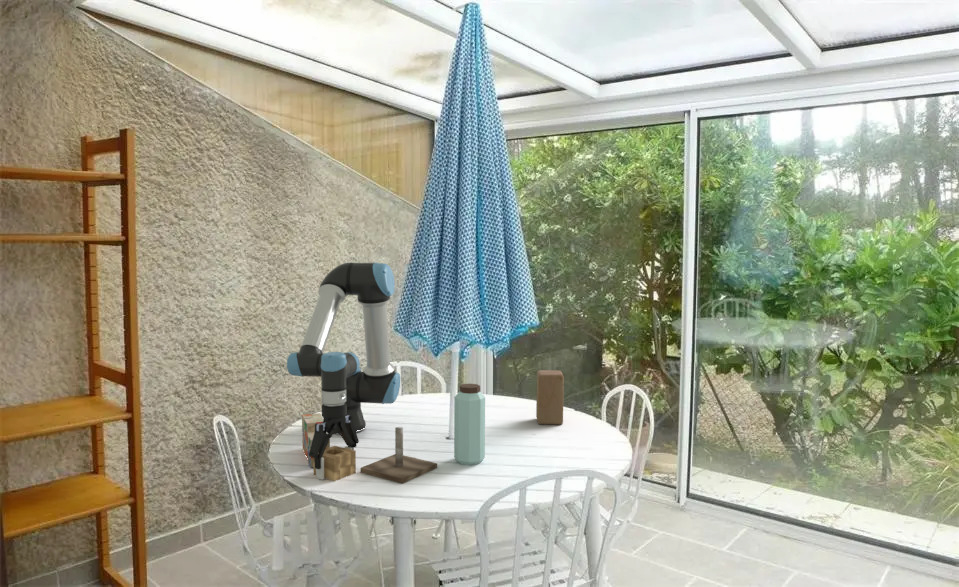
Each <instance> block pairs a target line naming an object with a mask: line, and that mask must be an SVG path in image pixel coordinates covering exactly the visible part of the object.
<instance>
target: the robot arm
mask: <svg viewBox="0 0 959 587" xmlns="http://www.w3.org/2000/svg"><path fill="white" fill-rule="evenodd" d="M394 276H395V275H394V272H393V270H392V267H390V265H388V264H387V263H384V262H383V263H379V262H344V263H342V264H339V265H337V266H336V267H334V268H333V269H332V270H330V271H329V272H328V273H327V274H326V276H325V277H324V278H323V280H322V281H321V282H320V285H319V287H318V289H317V290H318V291H317V292H318V300H317V302H316V305H315V307H314V310H313V313H312V315H311V318H310V321H309V323H308V327H307V329H306V332H305V335H304V338H303V341H302V343H301V346H300V348H299V350H298V352H297V351H295V352H291V353H290V354H288V356H287V360H286V369H287V371H288V373H289V375H290V376H295V377H315V378H316V377H318V378H320V380H321V386H320V388H321V390H320V391H321V392H320V393H321V394H320V395H321V400H320V402H321V403H322V405H321V416H322V418H323V423H322V424H315V433H314V436H313V440H312V444H311V448H310V452H309V457H313V458H314V461H315V468H316V476H315V479H319V480H323V481H324V480H325V478H324V458H323V457H322V455H323V453H324V451H325V449H326V446H327V444H328V442H329V439H330V440H331V438H333V435H337V434H336V433H339V434H338V435H340V437H341V438H342V441H344V443H345V445H346V446H344V448H346V449H351V450H355V449H354V448H357V444H358V443H359V442H360V440H359V437H358V434H357V433H356V431H357V430H361V429H363V428H365V426H366V420H365V419H364V415H363V412H362V407H361V406H362V405H361V404H382V405H384V404H390V405H391V404H394V403H395V402H396V400H397V398H398V397H399V396H398V395H399V392H400V389H401V374H400V372H397V371H396V368H395V366H394V365H393V364H392V363H391V356H390V355H391V354H390V342H389V341H390V340H389V338H390V337H389V325H388V310H387V303H388V302H389V301H390V300H391V296H393V295H394V293H395V288H396V287H395V285H396V284H395V277H394ZM350 295H351V296H356V297H357V302H358V303H360V304H361V306H362V316H363V317H362V318H363V330H364V331H363V332H364V342H365V344H364V345H365V355H366V356H365V357H366V366H364V368H363V371H362V369H361V366H360V365H361V362H360V359H359V357H358V356H357V354H355V353H353V352H350V351H348V352H346V351H345V352H342V351H341V352H340V351H329V352H324V351H325V348H326V345H327V342H328V340H329V336H330V334H331V330H332V328H333V325H334V322H335V319H336V317H337V314H338V311H339V307H340V305H341V303H343V302H344V301H345V300H346V297H347V296H350ZM365 429H366V428H365ZM326 432H327V433H326ZM318 453H319V454H318Z"/></svg>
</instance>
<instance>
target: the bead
mask: <svg viewBox="0 0 959 587" xmlns="http://www.w3.org/2000/svg"><path fill="white" fill-rule="evenodd" d="M318 454H319V453H318ZM322 457H323V458H324V479H325V478H327V479H326V480H328V479H329V480H328V481H332V482H337V481H339V480H341V478H342V479H344V478H346V476H347V477H350V476H351V474H352V475H353V474H356V473H357V472H356V471H357V465H356V464H357V462H356V461H357V460H356V458H357V454H356V450H355V449H354V450H351V449H346V448H345V447H342V446H337V445H333V446H330V447H329V448H327V449H325V451H324V453H323V455H322ZM313 467H314V468H313V476H314V475H316V468H315V461H314V458H313ZM336 480H337V481H336Z"/></svg>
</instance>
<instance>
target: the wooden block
mask: <svg viewBox="0 0 959 587" xmlns="http://www.w3.org/2000/svg"><path fill="white" fill-rule="evenodd" d="M564 378H565V376H564V374H563V372H562V371H561V370H559V369H558V370H555V369H554V370H553V369H551V370H549V369H548V370H546V369H545V370H544V369H543V370H540V369H539V370H537V371H536V408H535V410H536V411H535V412H536V413H535V415H536V421H537V424H539V425H551V426H552V425H559V426H560V425H562V424H563V423H564V389H565V388H564V384H565V379H564Z"/></svg>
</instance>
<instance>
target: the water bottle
mask: <svg viewBox="0 0 959 587" xmlns="http://www.w3.org/2000/svg"><path fill="white" fill-rule="evenodd" d="M453 398H454V406H453V407H454V409H453V413H454V416H453V417H454V418H453V419H454V420H453V422H454V423H453V424H454V426H453V427H454V428H453V434H454V436H453V437H454V438H453V439H454V442H453V445H454V446H453V448H454V450H453V451H454V453H453V457H454V459H455V460H456V462H457V463H459V465H466V466H473V465H479V464H481V463H482V462H483V461H484V459H485V458H486V457H485V456H486V448H485V447H486V446H485V445H486V443H485V442H486V396H485V395H484V394H483V393H482V392H481V385H480V384H477V383H463V384H460V385H459V391H458V393H456V395H455V396H454V397H453Z"/></svg>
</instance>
